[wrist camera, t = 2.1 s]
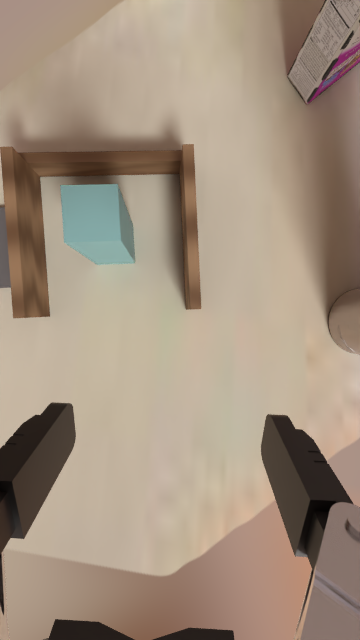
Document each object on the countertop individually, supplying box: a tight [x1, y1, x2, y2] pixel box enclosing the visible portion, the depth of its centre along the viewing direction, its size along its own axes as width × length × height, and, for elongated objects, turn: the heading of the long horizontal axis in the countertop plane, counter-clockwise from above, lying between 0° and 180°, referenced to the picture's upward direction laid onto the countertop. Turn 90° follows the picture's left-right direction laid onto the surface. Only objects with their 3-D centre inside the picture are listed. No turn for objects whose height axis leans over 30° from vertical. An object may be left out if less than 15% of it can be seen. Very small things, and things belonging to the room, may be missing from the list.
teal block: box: [60, 184, 135, 265], centre depth 28 cm, size 5×5×11 cm
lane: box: [0, 144, 201, 318], centre depth 31 cm, size 19×20×6 cm
